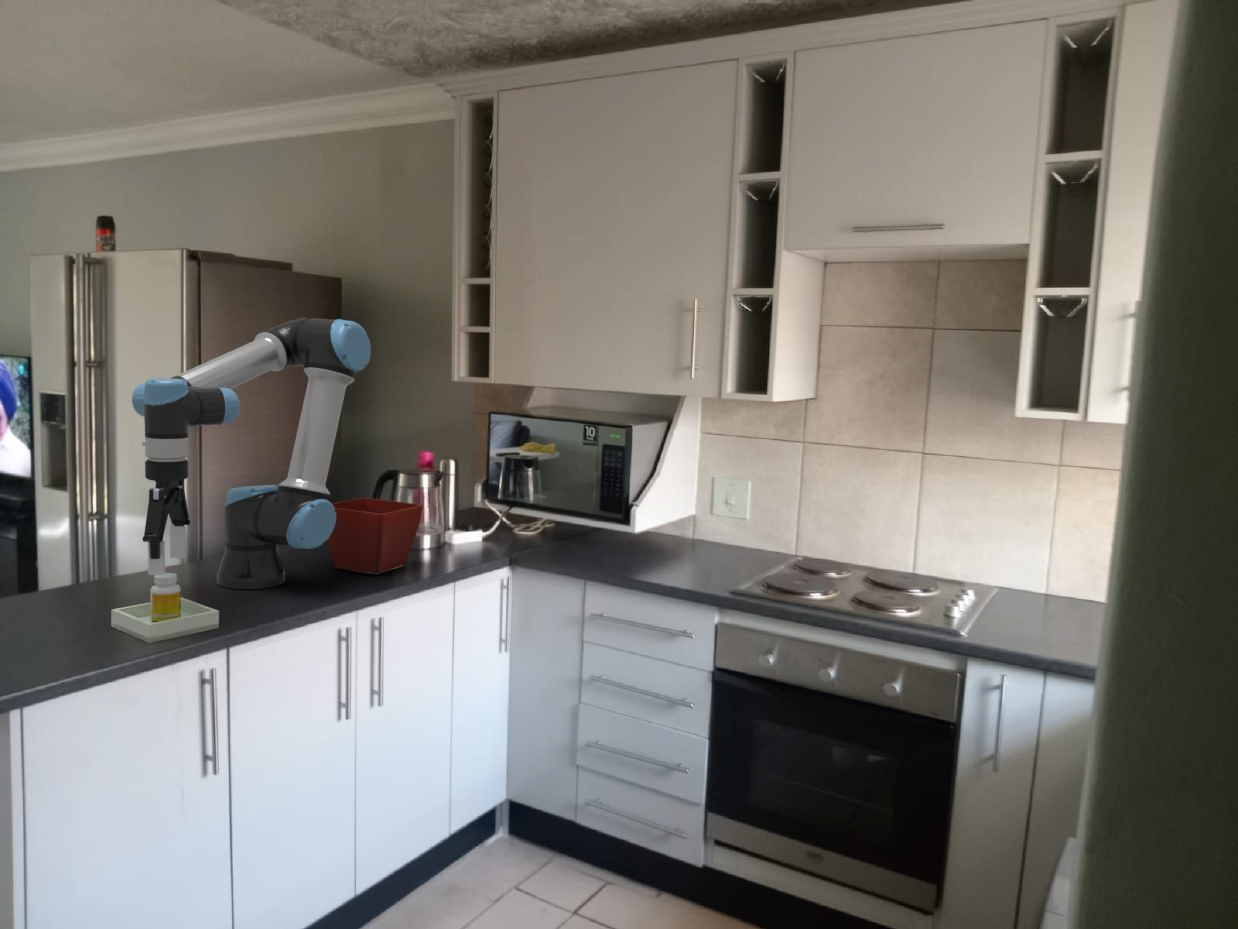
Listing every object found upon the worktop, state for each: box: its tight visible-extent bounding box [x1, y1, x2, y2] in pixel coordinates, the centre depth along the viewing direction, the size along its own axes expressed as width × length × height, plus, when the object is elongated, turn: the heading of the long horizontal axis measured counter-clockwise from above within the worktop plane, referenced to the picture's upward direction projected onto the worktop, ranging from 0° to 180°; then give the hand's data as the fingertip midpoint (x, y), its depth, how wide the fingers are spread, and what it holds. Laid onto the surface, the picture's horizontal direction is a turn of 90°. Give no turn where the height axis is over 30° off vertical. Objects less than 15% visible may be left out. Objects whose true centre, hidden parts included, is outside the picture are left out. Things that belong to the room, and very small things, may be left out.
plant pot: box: [326, 497, 424, 573], centre depth 238 cm, size 19×19×17 cm
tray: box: [110, 596, 220, 644], centre depth 181 cm, size 14×14×4 cm
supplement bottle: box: [149, 572, 182, 623], centre depth 180 cm, size 5×5×10 cm
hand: (167, 566), depth 180 cm, fingers open, 13 cm apart
